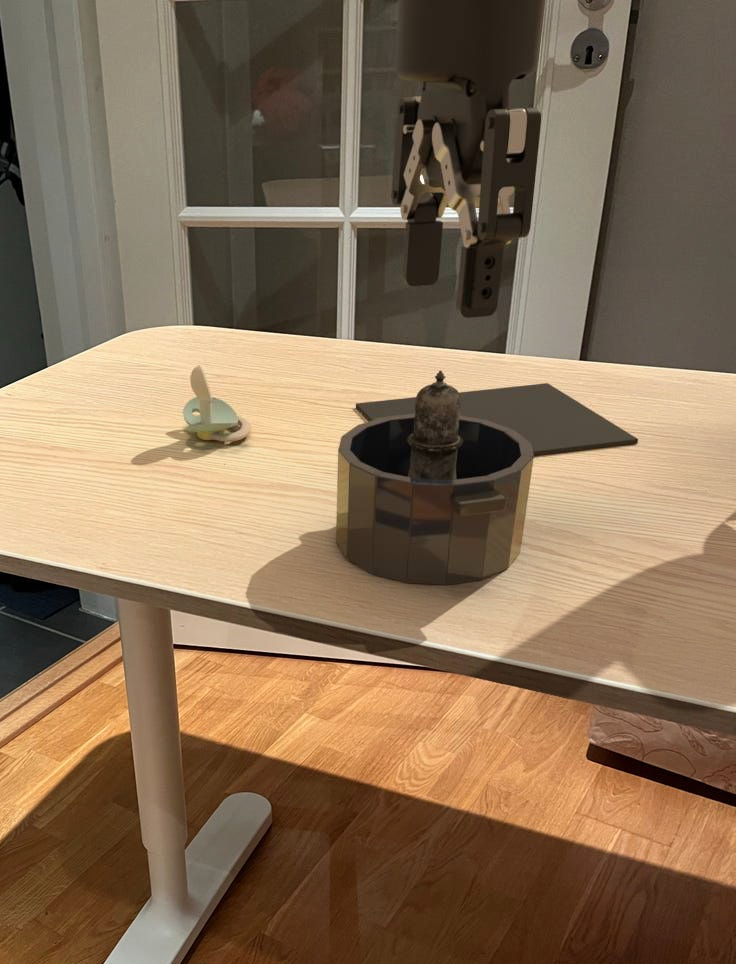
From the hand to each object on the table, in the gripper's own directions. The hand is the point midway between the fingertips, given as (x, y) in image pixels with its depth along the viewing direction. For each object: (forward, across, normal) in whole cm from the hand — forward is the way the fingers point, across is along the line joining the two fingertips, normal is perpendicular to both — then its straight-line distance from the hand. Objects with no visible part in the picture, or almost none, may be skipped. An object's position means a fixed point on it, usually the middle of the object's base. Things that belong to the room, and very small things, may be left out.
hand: (446, 298), depth 57 cm
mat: (+16, +20, -14) cm, 29 cm away
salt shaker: (+17, 0, 0) cm, 17 cm away
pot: (+16, 0, 0) cm, 16 cm away
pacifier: (+17, +25, +10) cm, 32 cm away
